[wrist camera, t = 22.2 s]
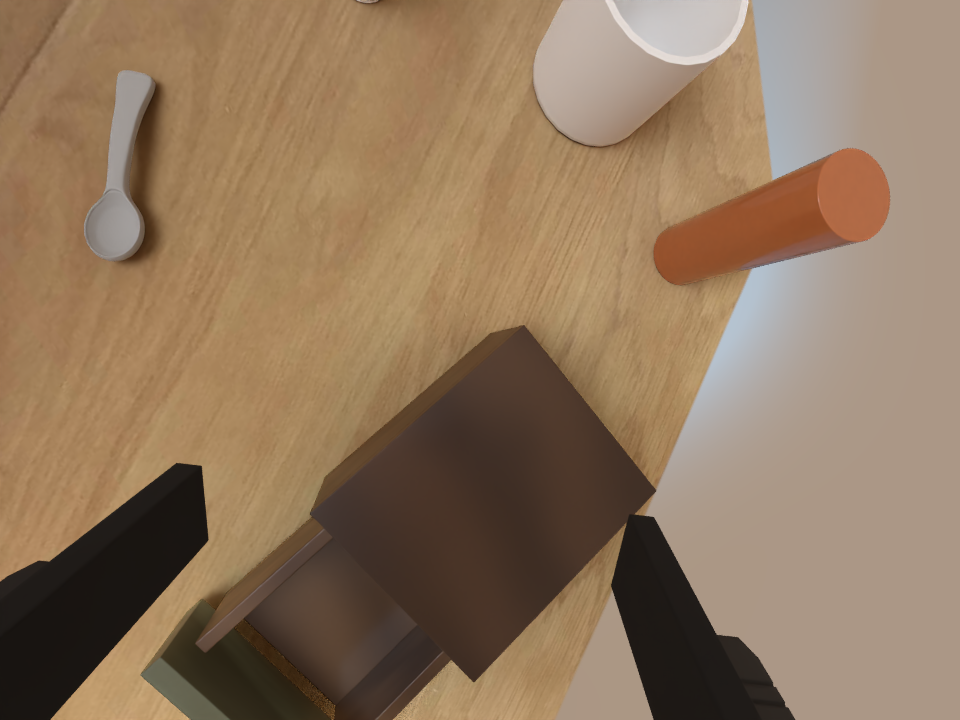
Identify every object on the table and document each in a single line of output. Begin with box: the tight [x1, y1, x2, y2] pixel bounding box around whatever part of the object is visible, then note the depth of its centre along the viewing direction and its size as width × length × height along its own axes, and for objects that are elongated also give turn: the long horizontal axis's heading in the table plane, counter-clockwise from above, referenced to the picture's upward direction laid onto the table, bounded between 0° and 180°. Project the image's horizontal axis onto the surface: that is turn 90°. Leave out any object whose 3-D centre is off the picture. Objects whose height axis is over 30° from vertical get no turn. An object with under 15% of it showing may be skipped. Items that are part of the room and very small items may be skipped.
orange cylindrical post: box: [654, 148, 890, 285], centre depth 31 cm, size 5×5×14 cm
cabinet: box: [310, 325, 656, 682], centre depth 29 cm, size 16×14×8 cm
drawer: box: [141, 517, 451, 720], centre depth 27 cm, size 16×12×6 cm
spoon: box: [84, 70, 156, 261], centre depth 27 cm, size 3×12×2 cm, turn 174°
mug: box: [533, 0, 748, 147], centre depth 31 cm, size 13×10×10 cm
